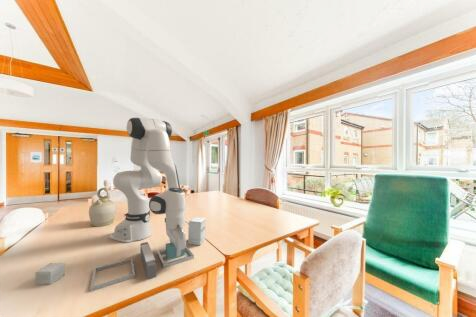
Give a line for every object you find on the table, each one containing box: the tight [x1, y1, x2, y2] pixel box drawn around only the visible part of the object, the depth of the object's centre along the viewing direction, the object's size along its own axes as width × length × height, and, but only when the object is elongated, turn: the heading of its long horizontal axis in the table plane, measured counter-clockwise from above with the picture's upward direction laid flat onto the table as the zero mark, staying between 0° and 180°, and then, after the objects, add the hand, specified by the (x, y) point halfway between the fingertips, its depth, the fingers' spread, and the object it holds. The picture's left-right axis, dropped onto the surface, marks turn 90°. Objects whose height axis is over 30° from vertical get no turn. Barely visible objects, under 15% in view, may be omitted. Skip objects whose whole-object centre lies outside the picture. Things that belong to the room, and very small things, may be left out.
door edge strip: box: [139, 241, 157, 280], centre depth 78 cm, size 22×3×5 cm, turn 35°
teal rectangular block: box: [164, 242, 186, 262], centre depth 85 cm, size 8×4×6 cm, turn 125°
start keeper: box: [156, 245, 195, 268], centre depth 85 cm, size 14×14×1 cm
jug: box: [88, 187, 117, 227], centre depth 124 cm, size 15×16×25 cm
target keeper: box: [89, 257, 136, 292], centre depth 71 cm, size 14×14×1 cm
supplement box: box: [187, 216, 207, 246], centre depth 99 cm, size 7×7×13 cm
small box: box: [34, 262, 66, 286], centre depth 67 cm, size 6×6×5 cm
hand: (175, 250), depth 85 cm, fingers open, 8 cm apart
